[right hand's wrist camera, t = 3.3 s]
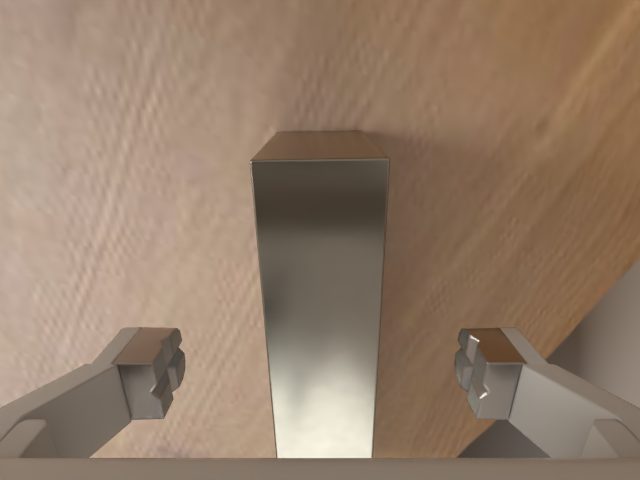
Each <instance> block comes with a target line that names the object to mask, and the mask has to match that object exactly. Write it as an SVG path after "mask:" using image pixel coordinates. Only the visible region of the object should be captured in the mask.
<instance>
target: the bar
mask: <svg viewBox="0 0 640 480" xmlns="http://www.w3.org/2000/svg"><path fill="white" fill-rule="evenodd" d="M250 169H251V180H252V192H253V203H254V214H255V225H256V236H257V247H258V258H259V269H260V280H261V291H262V302H263V313H264V325H265V336H266V347H267V358H268V369H269V380H270V391H271V402H272V413H273V424H274V435H275V446H276V458H373V443H374V426H375V409H376V391H377V374H378V357H379V340H380V323H381V306H382V289H383V272H384V255H385V238H386V220H387V203H388V186H389V169H390V158H389V157H388V156H387V155H386V154H385V153H384V152H383V151H382V150H381V149H380V148H379V147H378V146H377V145H376V144H375V143H374V142H373V141H372V140H371V139H370V138H369V137H368V136H367V135H366V134H365V133H364V132H363V131H308V132H277V133H276V134H275V135H274V136H273V137H272V138H271V139H270V140H269V141H268V142H267V143H266V144H265V145H264V147H263V148H262V149H261V150H260V151H259V152H258V153H257V154H256V155H255V156H254V157H253V158H252V159H251V160H250Z"/></svg>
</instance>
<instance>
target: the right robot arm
mask: <svg viewBox="0 0 640 480" xmlns="http://www.w3.org/2000/svg"><path fill="white" fill-rule="evenodd" d="M181 341H182V338H181V333H180V330H179V329H177V328H149V327H143V328H142V327H126V328H123V329H121V330H120V332H119V333H118V334H117V335H116V336H115V337H114V339H113V340H112V341H111V342H110V343H109V344H108V345H107V347H106V348H105V349H104V350H103V351H102V352H101V354H100V355H99V356H98V357H97V358H96V359H95V360H94V362H93V363H92V364H85V365H83V366H81V367H79V368H77V369H75V370H73V371H72V372H70V373H68V374H66V375H64V376H62V377H60V378H58V379H56V380H54V381H52V382H50V383H48V384H46V385H44V386H42V387H40V388H38V389H36V390H34V391H33V392H31V393H29V394H27V395H25V396H23V397H21V398H19V399H17V400H15V401H13V402H11V403H9V404H7V405H5V406H3V407H1V408H0V480H640V408H638V407H636V406H635V405H633V404H631V403H629V402H627V401H625V400H623V399H621V398H619V397H617V396H615V395H613V394H611V393H609V392H607V391H605V390H603V389H601V388H600V387H598V386H596V385H594V384H592V383H590V382H588V381H586V380H584V379H582V378H580V377H578V376H576V375H574V374H572V373H570V372H568V371H566V370H565V369H563V368H561V367H559V366H557V365H555V364H548V363H547V362H546V361H545V359H544V358H543V357H542V356H541V355H540V354H539V352H538V351H537V350H536V349H535V348H534V347H533V345H532V344H531V343H530V342H529V341H528V340H527V339H526V337H525V336H524V335H523V334H522V333H521V332H520V330H519V329H517V328H515V327H501V328H463V329H461V331H460V333H459V337H458V341H459V343H460V345H461V347H462V348H461V349H460V350H459V351H458V352H457V353H456V356H455V373H456V377H457V380H458V382H459V384H460V387H462V388H463V389H464V390H466V391H467V392H468V394H467V401H468V403H469V405H470V407H471V409H472V411H473V413H474V415H475V417H476V419H499V420H509V422H510V423H511V424H512V425H513V426H515V427H516V428H517V429H518V430H519V431H520V432H522V433H523V434H524V435H525V436H526V437H527V438H529V439H530V440H531V441H532V442H533V443H535V444H536V445H537V446H538V447H539V448H540V449H542V450H543V451H544V452H545V453H546V454H547V455H549V456H550V457H551V458H89V457H90V456H92V455H93V454H94V453H95V452H96V451H97V450H99V449H100V448H101V447H102V446H103V445H104V444H106V443H107V442H108V441H109V440H110V439H111V438H113V437H114V436H115V435H116V434H117V433H119V432H120V431H121V430H122V429H123V428H124V427H126V426H127V425H128V424H129V423H130V422H131V420H140V419H164V417H165V415H166V413H167V411H168V409H169V407H170V405H171V403H172V401H173V394H172V392H173V391H174V390H176V389H177V388H178V387H180V384H181V382H182V380H183V377H184V372H185V355H184V353H183V352H182V351H181V350H180V349H179V348H178V347H179V345H180V343H181Z"/></svg>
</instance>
